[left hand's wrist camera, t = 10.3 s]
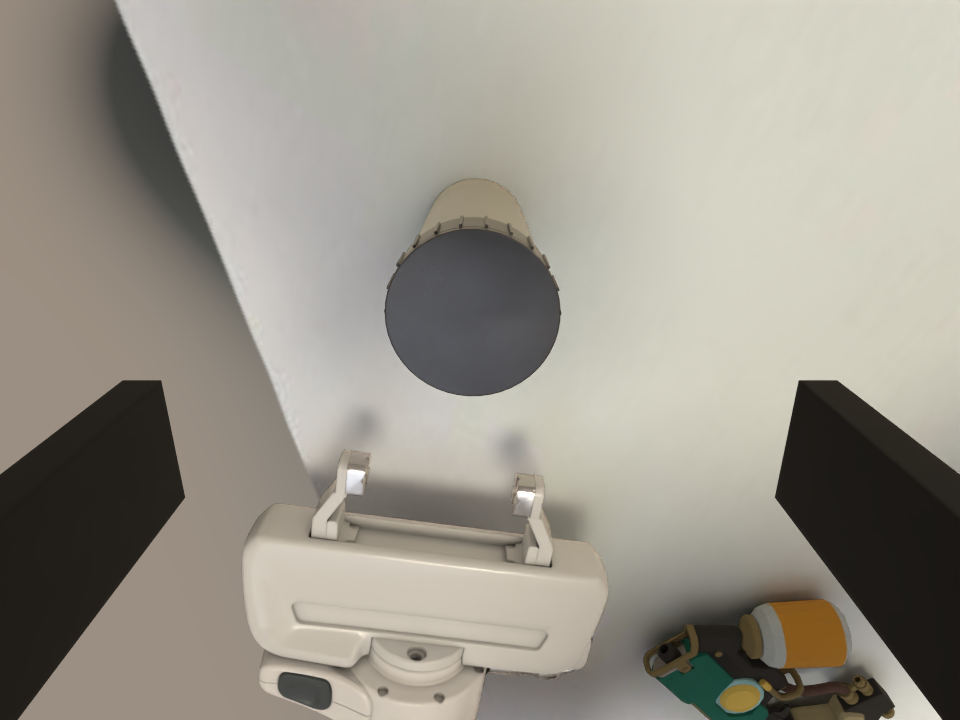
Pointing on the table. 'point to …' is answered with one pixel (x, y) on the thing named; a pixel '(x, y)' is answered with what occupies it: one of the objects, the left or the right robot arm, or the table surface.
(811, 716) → the spray gun
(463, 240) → the lid
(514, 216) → the beige cylindrical container
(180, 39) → the table surface
